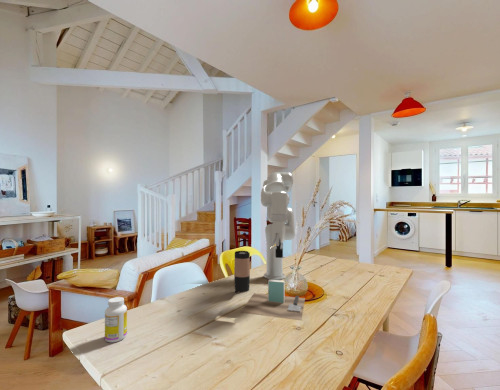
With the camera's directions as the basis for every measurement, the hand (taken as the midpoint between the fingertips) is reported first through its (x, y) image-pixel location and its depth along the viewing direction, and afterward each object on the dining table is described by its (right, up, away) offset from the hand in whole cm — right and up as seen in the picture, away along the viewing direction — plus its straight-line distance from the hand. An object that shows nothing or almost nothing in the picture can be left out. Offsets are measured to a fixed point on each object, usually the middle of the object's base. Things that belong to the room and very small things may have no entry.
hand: (279, 257), depth 122 cm
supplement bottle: (-58, -19, -34) cm, 70 cm away
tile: (-2, -18, -6) cm, 19 cm away
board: (-3, -19, -10) cm, 22 cm away
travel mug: (-18, -20, +8) cm, 28 cm away
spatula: (+6, -18, -10) cm, 21 cm away
